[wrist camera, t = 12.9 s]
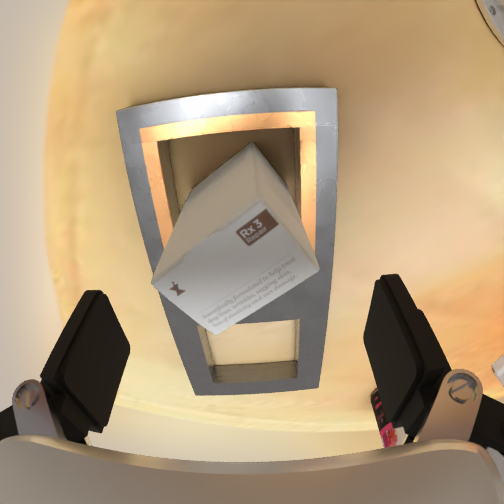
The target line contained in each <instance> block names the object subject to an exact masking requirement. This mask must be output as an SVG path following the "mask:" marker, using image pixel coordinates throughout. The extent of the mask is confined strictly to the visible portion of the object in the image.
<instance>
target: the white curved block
mask: <svg viewBox="0 0 504 504" xmlns="http://www.w3.org/2000/svg"><path fill="white" fill-rule="evenodd" d="M492 367H493V369H494V371H495V372H494V374H495V376H496V377H497V378H498V380H499V381H500V383H501V384H502V385H503V387H504V355H503V356H502V357H501V358H499V359H498V360H497V361H496V362H494V363H493V364H492Z"/></svg>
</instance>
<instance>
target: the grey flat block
mask: <svg viewBox="0 0 504 504" xmlns="http://www.w3.org/2000/svg"><path fill="white" fill-rule="evenodd" d="M116 115H117V121H118V127H119V133H120V138H121V144H122V149H123V154H124V159H125V164H126V169H127V174H128V178H129V183H130V187H131V192H132V196H133V200H134V205H135V209H136V213H137V217H138V221H139V225H140V229H141V232H142V236H143V240H144V244H145V247H146V251H147V255H148V258H149V262H150V265H151V269H152V272H153V275H154V272H155V270H156V267H157V265H158V263H159V260H160V258H161V256H162V253H163V251H164V249H165V247H166V244H167V242H168V240H169V238H170V236H171V233H172V231H173V229H174V226H175V224H176V222H177V220H178V217H179V215H180V212H179V207H178V201H177V196H176V190H175V185H174V179H173V173H172V167H171V161H170V155H169V149H168V142H167V139H173V138H180V137H188V136H195V135H204V134H212V133H222V132H232V131H243V130H256V129H271V128H292V127H294V149H295V181H296V209H297V211H298V214H299V216H300V219H301V221H302V224H303V226H304V229H305V231H306V234H307V236H308V239H309V241H310V243H311V246H312V248H313V251H314V254H315V257H316V259H317V262H318V265H319V271H318V272H317V273H315V274H314V275H312V276H310V277H309V278H307V279H306V280H304V281H303V282H301V283H299V284H298V285H296V286H295V287H293V288H292V289H290V290H289V291H287V292H285V293H284V294H282V295H281V296H279V297H277V298H276V299H274V300H273V301H271V302H269V303H268V304H266V305H265V306H263V307H261V308H260V309H258V310H257V311H255V312H253V313H252V314H250V315H249V316H247V317H245V318H244V319H242V320H240V321H239V322H237V323H235V324H243V323H258V322H271V321H284V320H295V319H296V334H295V361H285V362H273V363H260V364H243V365H221V366H215V365H214V361H213V357H212V354H211V350H210V346H209V342H208V338H207V334H206V330H205V328H204V327H202V326H201V325H200V324H198V323H197V322H196V321H195V320H193V319H192V318H191V317H190V316H188V315H187V314H186V313H185V312H183V311H182V310H181V309H180V308H178V307H177V306H176V305H175V304H174V303H172V302H171V301H170V300H168V299H167V298H166V297H165V296H164V295H163V294H162V293H160V292H159V291H158V292H159V295H160V298H161V301H162V304H163V307H164V310H165V314H166V317H167V319H168V322H169V325H170V328H171V331H172V334H173V337H174V340H175V343H176V345H177V348H178V351H179V354H180V356H181V359H182V362H183V364H184V367H185V370H186V372H187V375H188V377H189V380H190V383H191V385H192V388H193V390H194V393H195V395H241V394H259V393H273V392H285V391H296V390H305V389H314V388H318V387H319V380H320V374H321V367H322V360H323V352H324V345H325V337H326V328H327V320H328V310H329V301H330V290H331V279H332V267H333V254H334V239H335V222H336V200H337V162H338V117H337V88H331V87H280V88H260V89H246V90H234V91H224V92H215V93H207V94H199V95H192V96H185V97H179V98H172V99H167V100H161V101H156V102H150V103H145V104H140V105H136V106H131V107H127V108H124V109H121V110H118V111H116Z"/></svg>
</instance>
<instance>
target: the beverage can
mask: <svg viewBox="0 0 504 504" xmlns="http://www.w3.org/2000/svg"><path fill="white" fill-rule="evenodd" d="M371 403H372V407H373V410H374V414H375V417H376V421H377V424H378V428H379V431H380V435H381V438H382V442H383V447H384V448H386V447H391V446H397V445H401V444H402V442H403V440H404V438H405V437H406V435H407V434H405V432H404V428H403V427H400V428H395V429H393V427H392V423H391V422H387V420H386V418H385V414H384V410H383V406H382V403H381V399H380V395H379V392H378V389H377V390H376V391H375V392H374V394H373V395H372V397H371Z"/></svg>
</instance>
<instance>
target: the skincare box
mask: <svg viewBox="0 0 504 504" xmlns="http://www.w3.org/2000/svg"><path fill="white" fill-rule="evenodd" d="M318 271H319V265H318V262H317V259H316V257H315V254H314V251H313V248H312V246H311V243H310V241H309V239H308V236H307V234H306V231H305V229H304V226H303V224H302V221H301V219H300V216H299V214H298V211H297V209H296V206H295V204H294V201H293V199H292V196H291V194H290V191H289V189H288V187H287V184H286V183H285V182H284V180H283V179H282V178H281V177H280V175H279V174H278V173H277V172H276V170H275V169H274V168H273V167H272V165H271V164H270V163H269V162H268V160H267V159H266V158H265V157H264V155H263V154H262V153H261V152H260V150H259V149H258V148H257V146H256V145H255V144H254V143H250V144H248V145H247V146H246V147H244V148H243V149H242V150H240V151H239V152H238V153H237V154H235V155H234V156H233V157H231V158H230V159H229V160H228V161H226V162H225V163H224V164H222V165H221V166H220V167H219V168H217V169H216V170H215V171H214V172H213V173H211V174H210V175H209V176H208V177H206V178H205V179H204V180H203V181H201V182H200V183H199V184H198V185H197V186H195V187H194V188H193V189H192V190H191V192H190V194H189V196H188V198H187V200H186V202H185V204H184V206H183V209H182V211H181V213H180V215H179V217H178V220H177V222H176V224H175V226H174V229H173V231H172V233H171V236H170V238H169V240H168V242H167V244H166V247H165V249H164V251H163V253H162V256H161V258H160V260H159V263H158V265H157V267H156V270H155V272H154V275H153V277H152V281H151V283H152V285H153V286H154V287H155V288H156V289H157V290H158V291H159V292H160V293H162V294H163V295H164V296H165V297H166V298H167V299H168V300H170V301H171V302H172V303H174V304H175V305H176V306H177V307H178V308H180V309H181V310H182V311H183V312H185V313H186V314H187V315H188V316H190V317H191V318H192V319H193V320H195V321H196V322H197V323H198V324H200V325H201V326H202V327H204V328H205V329H207V330H208V331H210V332H211V333H212V334H214V335H217V334H219V333H221V332H223V331H224V330H226V329H227V328H229V327H231V326H232V325H234V324H235V323H237V322H239V321H240V320H242V319H244V318H245V317H247V316H249V315H250V314H252V313H253V312H255V311H257V310H258V309H260V308H261V307H263V306H265V305H266V304H268V303H269V302H271V301H273V300H274V299H276V298H277V297H279V296H281V295H282V294H284V293H285V292H287V291H289V290H290V289H292V288H293V287H295V286H296V285H298V284H299V283H301V282H303V281H304V280H306V279H307V278H309V277H310V276H312V275H314V274H315V273H317V272H318Z"/></svg>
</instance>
